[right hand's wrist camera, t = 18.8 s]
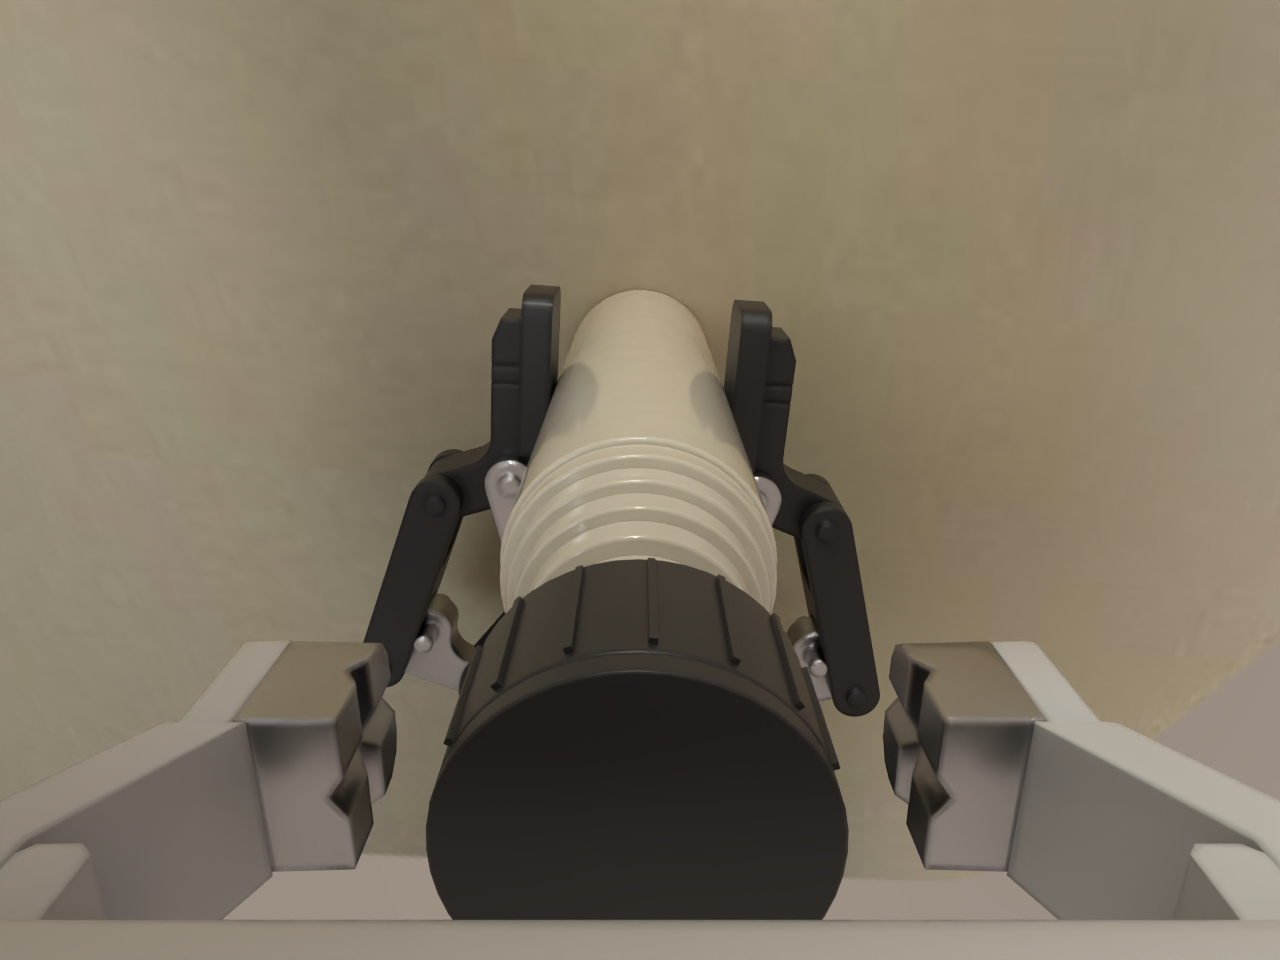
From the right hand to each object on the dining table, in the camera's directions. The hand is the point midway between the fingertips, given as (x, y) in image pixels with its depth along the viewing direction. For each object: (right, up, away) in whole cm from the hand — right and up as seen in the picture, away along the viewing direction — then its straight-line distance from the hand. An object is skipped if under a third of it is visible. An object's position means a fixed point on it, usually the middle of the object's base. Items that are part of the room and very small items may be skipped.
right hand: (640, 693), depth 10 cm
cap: (0, -1, -2) cm, 2 cm away
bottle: (0, +6, +17) cm, 18 cm away
